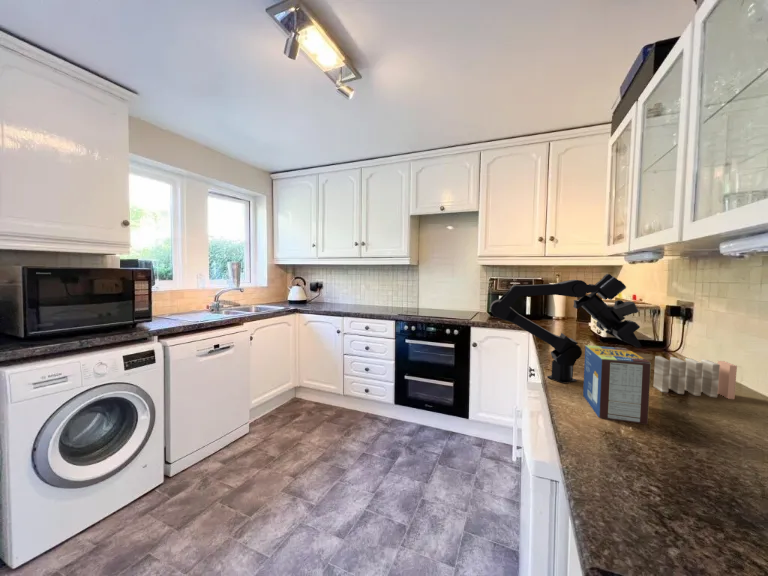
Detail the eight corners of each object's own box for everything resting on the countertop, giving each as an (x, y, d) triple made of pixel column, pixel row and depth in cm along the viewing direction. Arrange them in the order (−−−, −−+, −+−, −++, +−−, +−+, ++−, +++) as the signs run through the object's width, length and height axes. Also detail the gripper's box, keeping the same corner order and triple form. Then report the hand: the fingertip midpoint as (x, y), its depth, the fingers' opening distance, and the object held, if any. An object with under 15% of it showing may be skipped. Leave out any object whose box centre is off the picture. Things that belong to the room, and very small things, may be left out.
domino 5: (727, 398, 93) (729, 365, 92) (715, 392, 98) (717, 360, 97) (734, 399, 93) (736, 365, 92) (721, 393, 97) (724, 361, 97)
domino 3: (693, 395, 95) (696, 362, 95) (683, 389, 100) (685, 358, 99) (700, 395, 95) (702, 363, 94) (689, 389, 100) (692, 358, 99)
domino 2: (677, 393, 96) (679, 361, 96) (668, 387, 101) (670, 357, 101) (684, 394, 96) (686, 362, 95) (674, 388, 101) (676, 357, 100)
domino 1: (661, 392, 98) (663, 360, 97) (653, 386, 102) (655, 356, 102) (668, 392, 97) (670, 360, 97) (659, 386, 102) (661, 356, 101)
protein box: (623, 400, 91) (626, 347, 90) (648, 425, 76) (652, 362, 76) (582, 395, 94) (584, 344, 93) (598, 418, 80) (601, 358, 79)
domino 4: (710, 396, 94) (712, 364, 94) (699, 390, 99) (701, 359, 98) (717, 397, 94) (719, 364, 93) (705, 391, 98) (707, 359, 98)
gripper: (633, 294, 93) (676, 334, 90) (608, 291, 111) (644, 323, 108) (601, 320, 95) (642, 359, 93) (581, 312, 113) (616, 344, 111)
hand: (636, 345), depth 101 cm, fingers open, 4 cm apart
